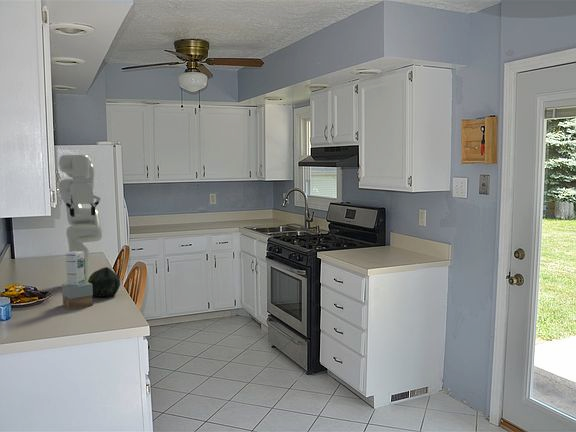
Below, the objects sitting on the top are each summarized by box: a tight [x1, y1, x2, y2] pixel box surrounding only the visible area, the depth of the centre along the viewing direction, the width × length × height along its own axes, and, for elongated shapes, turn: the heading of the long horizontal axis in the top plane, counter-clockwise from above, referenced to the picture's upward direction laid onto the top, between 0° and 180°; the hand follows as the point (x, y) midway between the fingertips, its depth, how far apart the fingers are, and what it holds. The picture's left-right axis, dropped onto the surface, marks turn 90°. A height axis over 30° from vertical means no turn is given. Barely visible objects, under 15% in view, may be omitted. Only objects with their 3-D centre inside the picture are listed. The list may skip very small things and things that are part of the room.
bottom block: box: [62, 295, 94, 310], centre depth 237 cm, size 10×10×5 cm
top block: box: [61, 282, 93, 299], centre depth 237 cm, size 10×10×5 cm
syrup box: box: [65, 251, 86, 285], centre depth 236 cm, size 6×6×14 cm
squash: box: [88, 266, 121, 298], centre depth 254 cm, size 14×15×15 cm
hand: (83, 216), depth 256 cm, fingers open, 9 cm apart
